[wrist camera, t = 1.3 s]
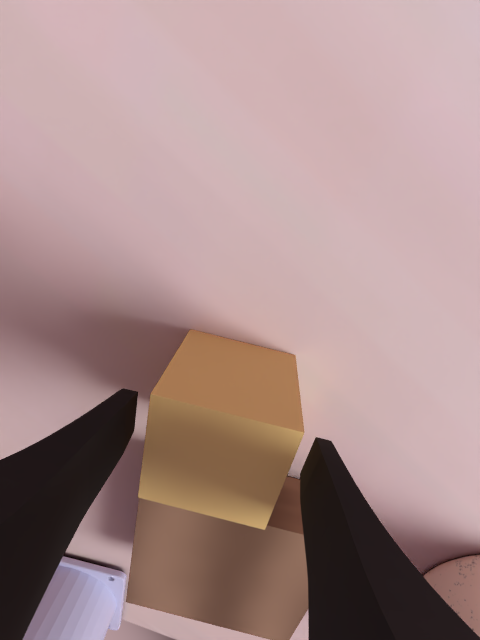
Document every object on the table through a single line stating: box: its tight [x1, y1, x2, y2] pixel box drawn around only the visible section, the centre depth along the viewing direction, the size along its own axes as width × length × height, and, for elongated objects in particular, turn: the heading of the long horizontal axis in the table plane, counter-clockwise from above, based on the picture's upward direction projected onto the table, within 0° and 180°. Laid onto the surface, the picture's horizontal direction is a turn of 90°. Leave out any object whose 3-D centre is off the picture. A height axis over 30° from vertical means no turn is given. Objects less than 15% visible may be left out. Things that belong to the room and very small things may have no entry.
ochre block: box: [138, 329, 304, 530], centre depth 13 cm, size 5×5×5 cm
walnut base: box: [126, 476, 308, 640], centre depth 18 cm, size 10×10×3 cm
